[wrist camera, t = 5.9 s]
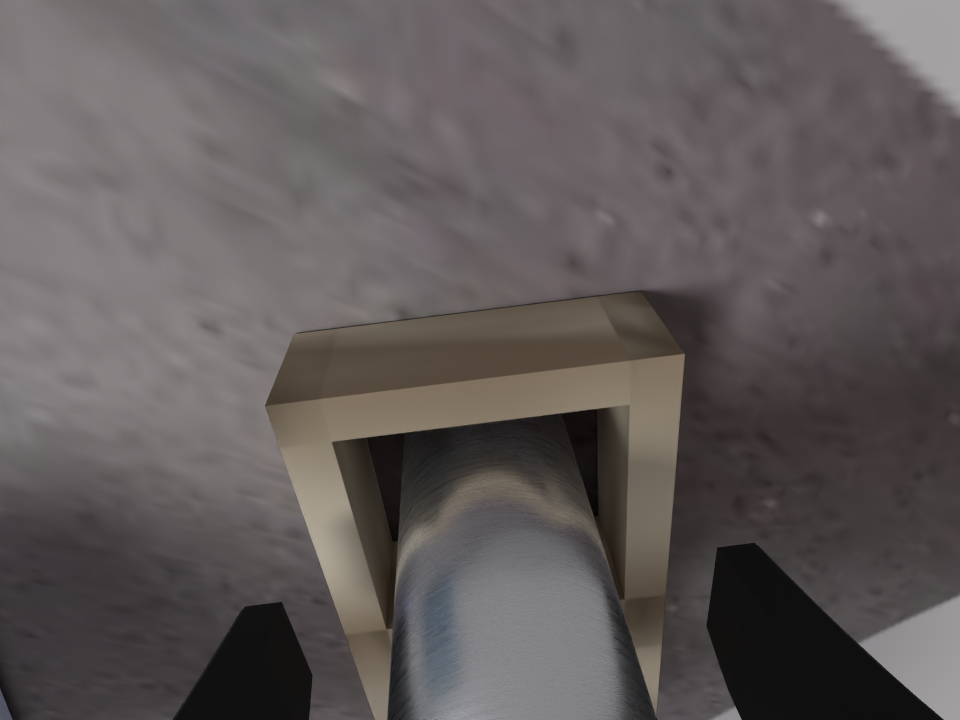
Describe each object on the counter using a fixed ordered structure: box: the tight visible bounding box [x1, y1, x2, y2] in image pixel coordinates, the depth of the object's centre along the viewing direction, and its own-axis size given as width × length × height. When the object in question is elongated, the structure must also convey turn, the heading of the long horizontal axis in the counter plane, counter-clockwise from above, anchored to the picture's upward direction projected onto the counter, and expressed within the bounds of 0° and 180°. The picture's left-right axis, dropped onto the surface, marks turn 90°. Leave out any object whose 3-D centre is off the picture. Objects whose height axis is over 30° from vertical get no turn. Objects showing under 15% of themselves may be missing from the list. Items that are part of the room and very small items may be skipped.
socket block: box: [265, 291, 685, 720], centre depth 13 cm, size 14×7×6 cm, turn 6°
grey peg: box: [387, 413, 657, 720], centre depth 11 cm, size 4×4×8 cm
